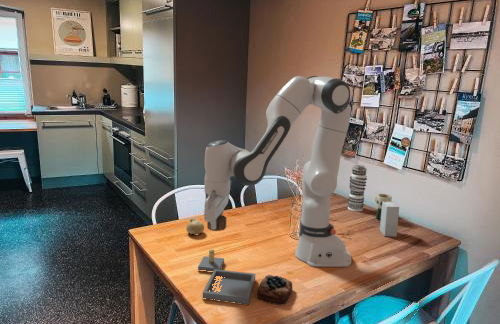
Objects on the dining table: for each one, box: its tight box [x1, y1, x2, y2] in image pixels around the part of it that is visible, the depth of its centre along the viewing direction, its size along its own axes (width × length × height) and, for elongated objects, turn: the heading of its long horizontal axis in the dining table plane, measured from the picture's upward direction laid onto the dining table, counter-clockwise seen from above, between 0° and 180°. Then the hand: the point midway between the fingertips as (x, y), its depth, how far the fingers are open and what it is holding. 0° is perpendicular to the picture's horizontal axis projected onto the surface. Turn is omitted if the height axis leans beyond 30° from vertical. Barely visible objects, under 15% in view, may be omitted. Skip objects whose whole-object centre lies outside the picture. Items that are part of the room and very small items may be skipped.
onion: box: [186, 218, 205, 235], centre depth 165 cm, size 8×8×7 cm
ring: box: [206, 215, 227, 232], centre depth 128 cm, size 6×6×4 cm
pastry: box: [256, 274, 293, 305], centre depth 120 cm, size 11×12×6 cm
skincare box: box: [379, 201, 400, 238], centre depth 171 cm, size 8×6×15 cm
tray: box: [202, 269, 256, 305], centre depth 122 cm, size 15×15×2 cm
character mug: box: [374, 193, 393, 221], centre depth 190 cm, size 11×7×13 cm, turn 31°
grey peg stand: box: [197, 248, 225, 271], centre depth 135 cm, size 8×8×7 cm
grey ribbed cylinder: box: [347, 164, 368, 212], centre depth 203 cm, size 9×9×25 cm
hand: (216, 224), depth 128 cm, fingers closed on ring, 6 cm apart
